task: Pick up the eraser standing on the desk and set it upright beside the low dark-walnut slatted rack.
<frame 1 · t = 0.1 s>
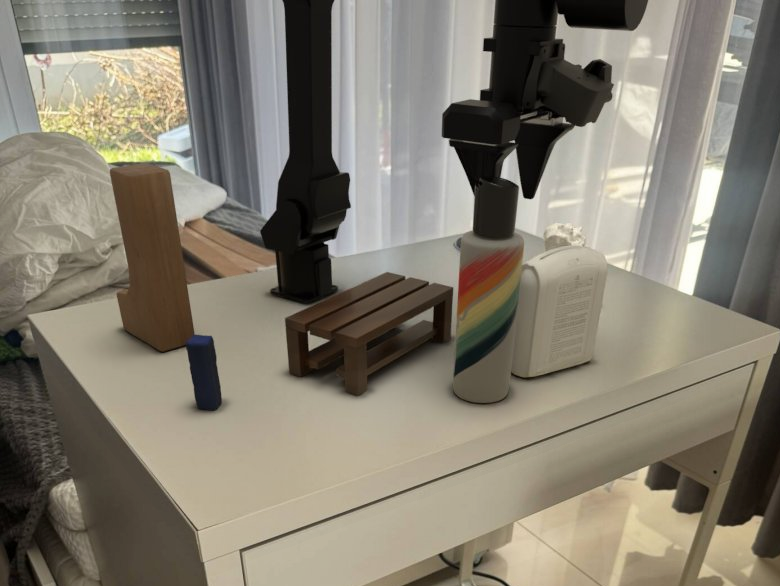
hand: (508, 207, 79), 15 cm above the table, tool pointing down, fingers open, 9 cm apart
wooden block: (159, 338, 88), on the table
bust: (560, 311, 97), on the table
lotion bottle: (480, 393, 78), on the table
photo printer: (549, 367, 84), on the table
eraser: (209, 407, 75), on the table
rack: (373, 355, 85), on the table
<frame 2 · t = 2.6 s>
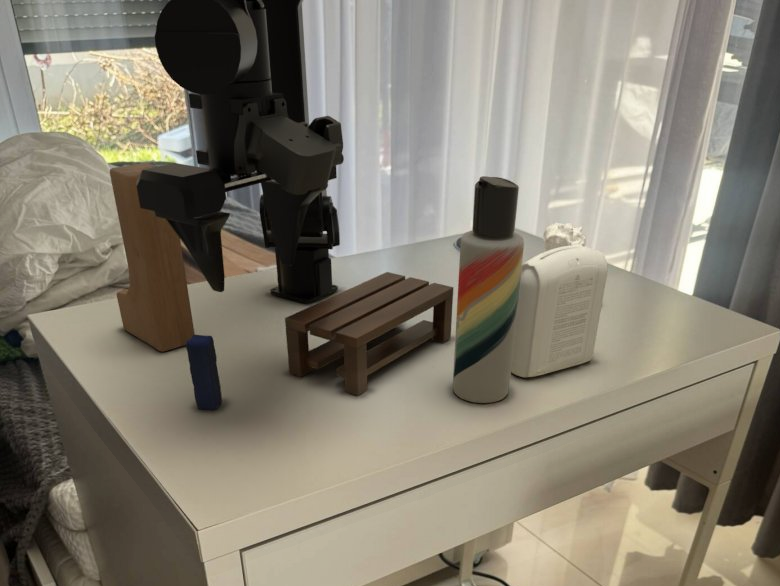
hand: (254, 277, 70), 11 cm above the table, tool pointing down, fingers open, 9 cm apart
nothing on the table moved.
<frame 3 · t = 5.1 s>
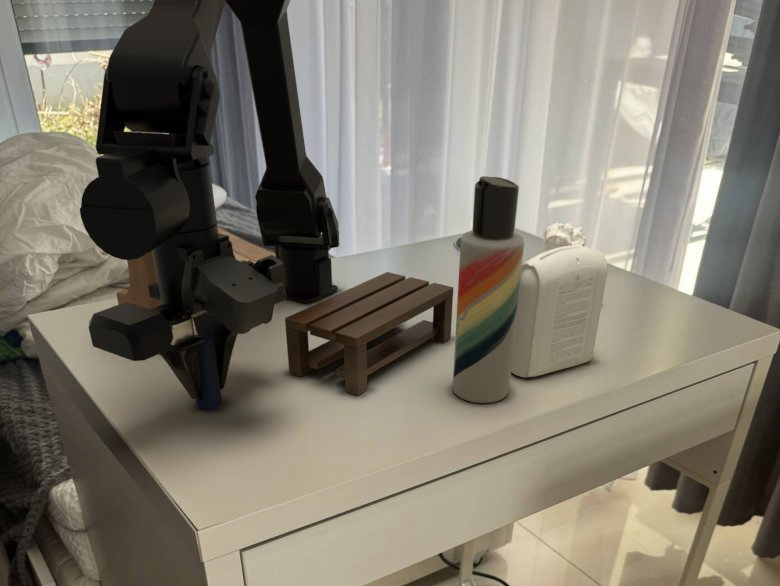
hand: (207, 393, 74), 1 cm above the table, tool pointing down, fingers closed on eraser, 2 cm apart
eraser: (209, 407, 75), on the table, touching gripper
everything else where it was.
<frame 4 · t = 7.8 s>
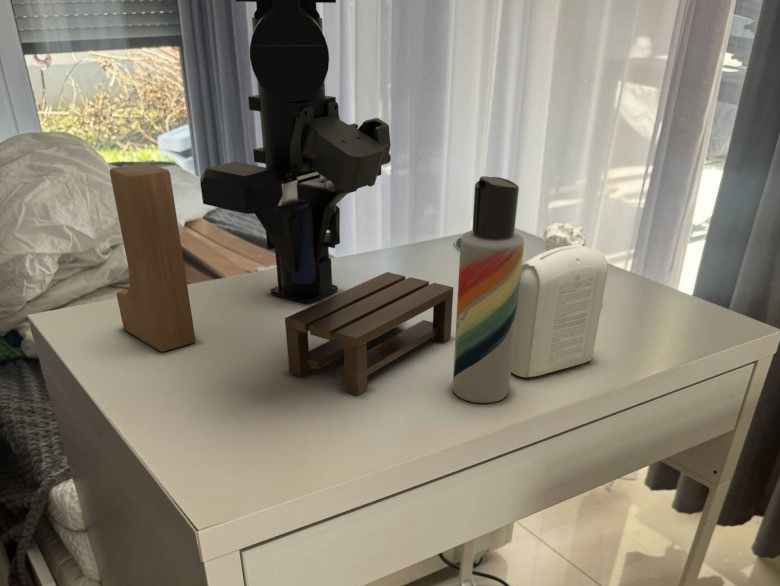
hand: (302, 268, 75), 11 cm above the table, tool pointing down, fingers closed on eraser, 2 cm apart
eraser: (303, 282, 76), point 9 cm above the table, touching gripper
everything else where it was.
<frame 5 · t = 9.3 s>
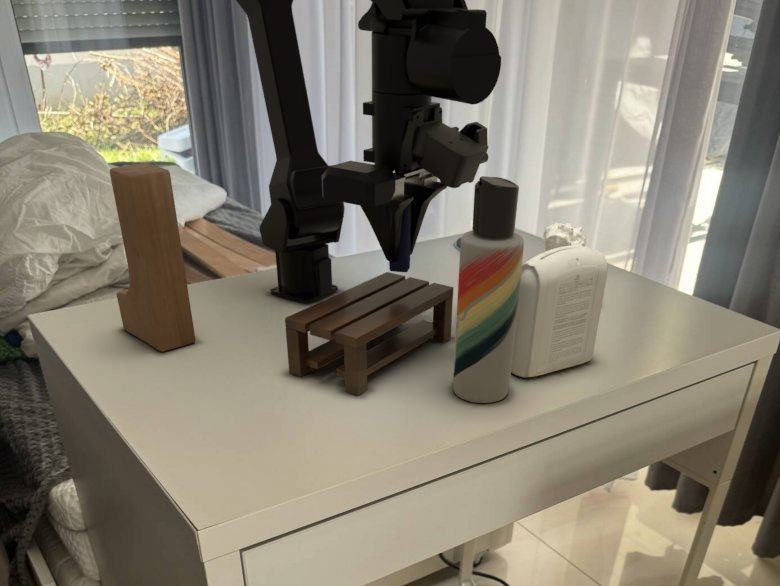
hand: (399, 257, 83), 9 cm above the table, tool pointing down, fingers closed on eraser, 2 cm apart
eraser: (399, 271, 83), point 8 cm above the table, touching gripper
everything else where it was.
when the fingers open (7 cm above the table, at t = 10.3 s): eraser stays where it is, resting on rack.
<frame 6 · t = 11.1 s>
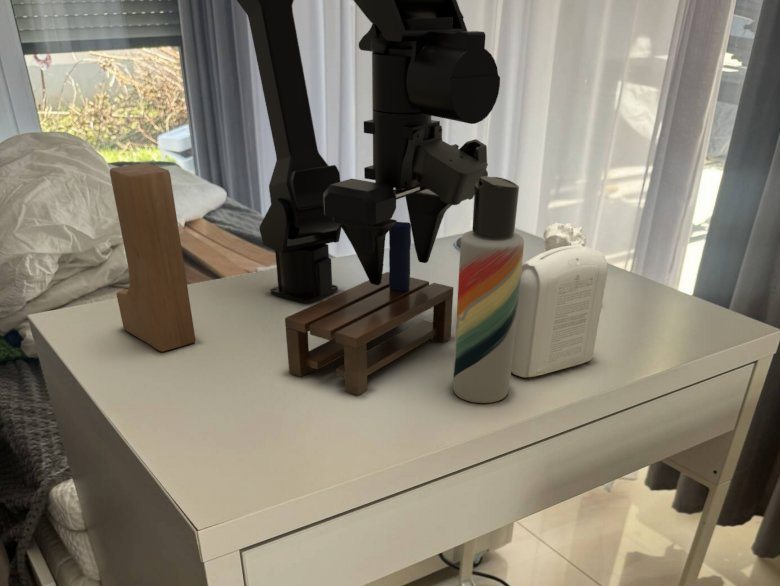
hand: (400, 272, 84), 8 cm above the table, tool pointing down, fingers open, 9 cm apart
eraser: (399, 290, 85), point 6 cm above the table, touching rack
everything else where it was.
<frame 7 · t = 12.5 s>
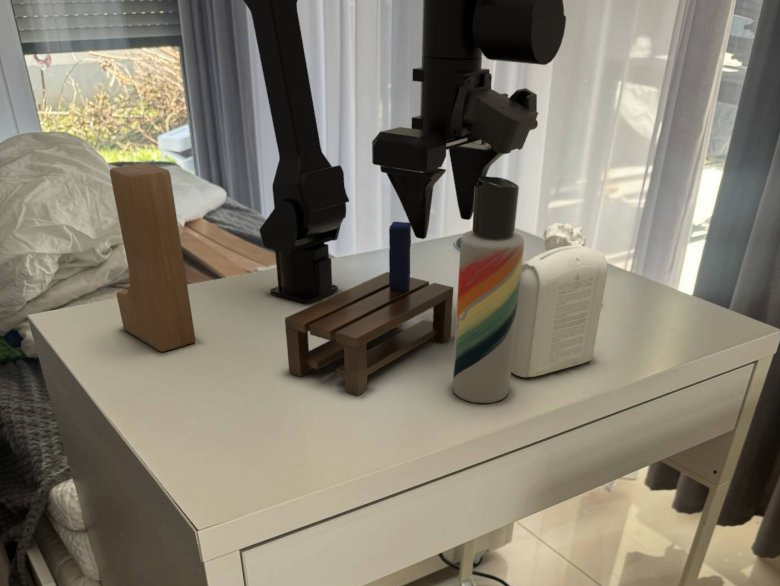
hand: (444, 228, 82), 12 cm above the table, tool pointing down, fingers open, 9 cm apart
nothing on the table moved.
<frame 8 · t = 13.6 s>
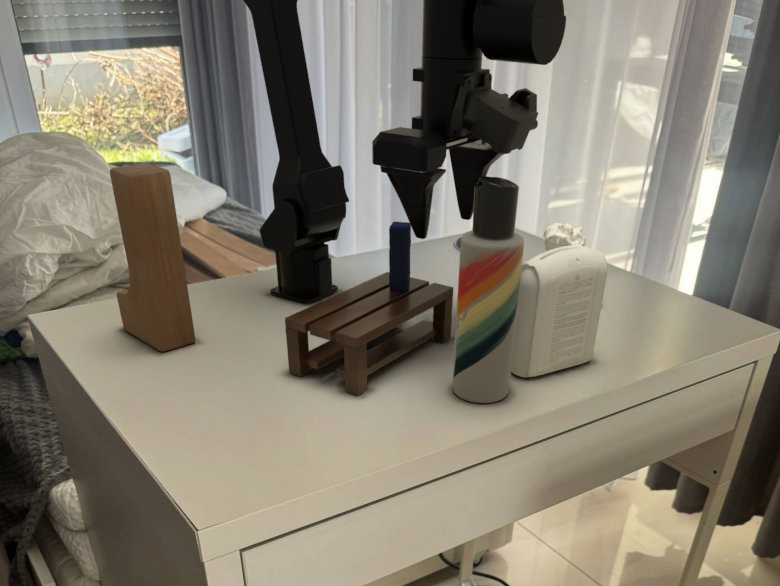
hand: (444, 228, 82), 12 cm above the table, tool pointing down, fingers open, 9 cm apart
nothing on the table moved.
at the end: eraser inside the target area on the rack (0.1 cm from its centre), point 5.8 cm above the rack's base; eraser tilted 0°; the gripper is holding nothing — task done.
